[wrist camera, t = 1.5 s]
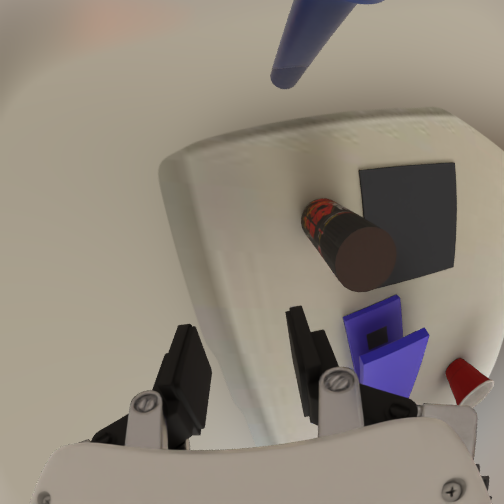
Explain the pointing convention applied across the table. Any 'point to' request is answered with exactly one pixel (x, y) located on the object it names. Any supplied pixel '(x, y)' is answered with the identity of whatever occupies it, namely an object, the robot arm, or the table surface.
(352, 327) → the stapler
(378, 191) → the mat
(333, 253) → the deodorant
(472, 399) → the plastic cup
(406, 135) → the table surface
